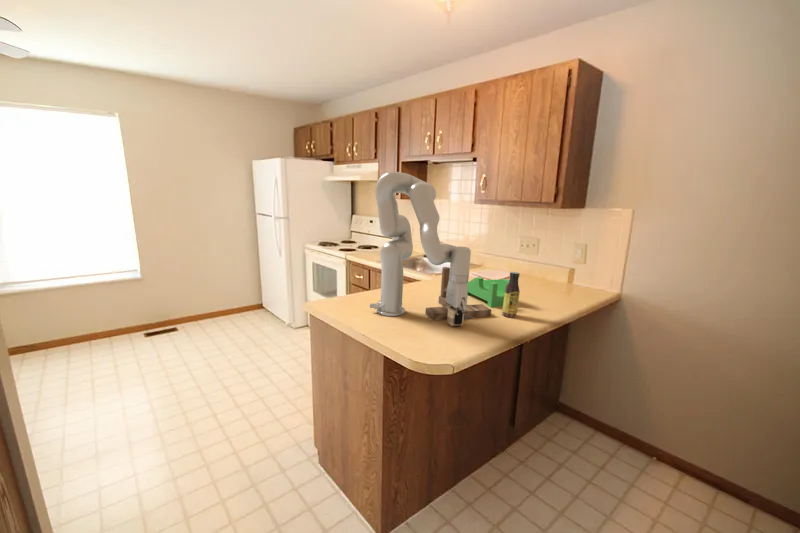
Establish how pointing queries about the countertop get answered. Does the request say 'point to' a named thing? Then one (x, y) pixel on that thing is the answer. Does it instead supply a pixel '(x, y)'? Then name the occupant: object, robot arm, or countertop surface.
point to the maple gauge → (452, 317)
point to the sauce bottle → (511, 296)
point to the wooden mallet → (444, 285)
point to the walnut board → (471, 310)
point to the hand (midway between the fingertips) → (455, 321)
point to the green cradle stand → (488, 290)
